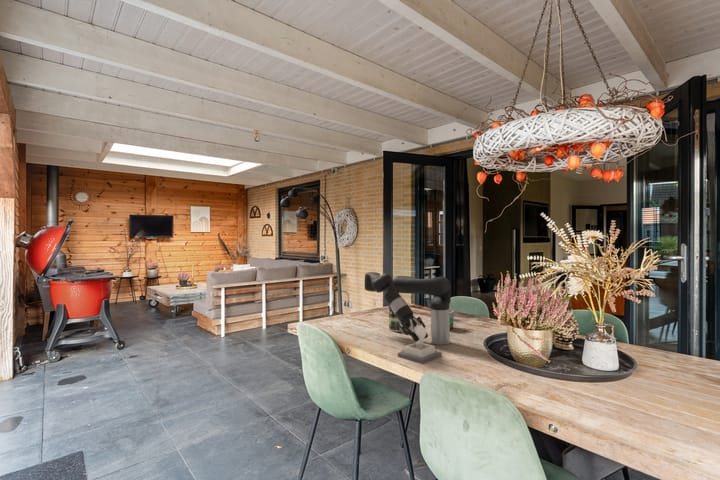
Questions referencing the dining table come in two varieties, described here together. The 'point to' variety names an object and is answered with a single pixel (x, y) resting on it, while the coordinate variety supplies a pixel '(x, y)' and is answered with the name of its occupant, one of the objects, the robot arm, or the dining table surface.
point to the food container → (451, 318)
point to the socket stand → (419, 353)
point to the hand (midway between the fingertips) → (422, 339)
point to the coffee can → (394, 322)
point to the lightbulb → (419, 335)
